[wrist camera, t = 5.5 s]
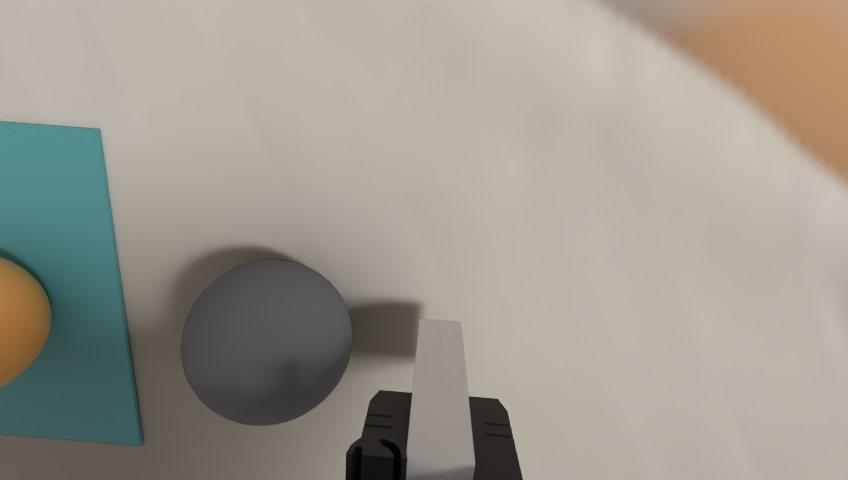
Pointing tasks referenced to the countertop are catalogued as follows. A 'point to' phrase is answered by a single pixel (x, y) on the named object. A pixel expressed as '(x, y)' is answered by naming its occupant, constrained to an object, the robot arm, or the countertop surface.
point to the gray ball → (266, 342)
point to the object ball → (21, 320)
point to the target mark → (67, 287)
